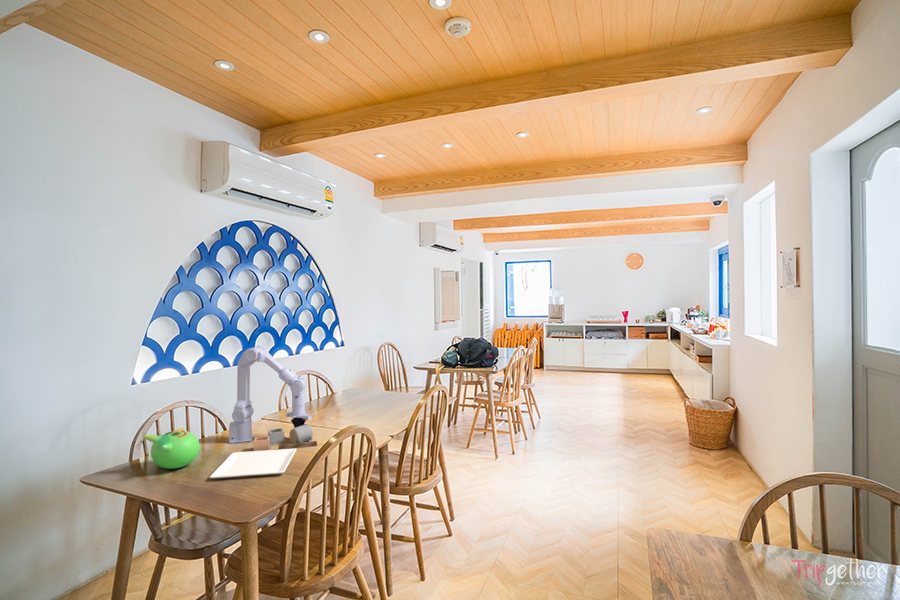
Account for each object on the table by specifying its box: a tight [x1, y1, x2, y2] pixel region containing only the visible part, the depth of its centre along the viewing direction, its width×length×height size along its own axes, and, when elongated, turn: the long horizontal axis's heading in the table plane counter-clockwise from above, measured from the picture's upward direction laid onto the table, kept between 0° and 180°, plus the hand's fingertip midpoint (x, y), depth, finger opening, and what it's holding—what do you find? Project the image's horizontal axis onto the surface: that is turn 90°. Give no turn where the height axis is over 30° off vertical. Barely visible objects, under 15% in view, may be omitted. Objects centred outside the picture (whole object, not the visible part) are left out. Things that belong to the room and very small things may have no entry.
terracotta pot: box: [253, 435, 271, 451], centre depth 193 cm, size 6×6×5 cm
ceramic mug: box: [289, 423, 314, 444], centre depth 201 cm, size 11×8×8 cm
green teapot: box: [142, 427, 201, 469], centre depth 174 cm, size 18×17×15 cm
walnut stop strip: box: [278, 440, 318, 450], centre depth 195 cm, size 16×1×2 cm, turn 107°
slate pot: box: [267, 428, 285, 446], centre depth 204 cm, size 6×6×5 cm
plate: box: [209, 448, 298, 479], centre depth 175 cm, size 26×26×2 cm
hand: (298, 433), depth 208 cm, fingers closed
